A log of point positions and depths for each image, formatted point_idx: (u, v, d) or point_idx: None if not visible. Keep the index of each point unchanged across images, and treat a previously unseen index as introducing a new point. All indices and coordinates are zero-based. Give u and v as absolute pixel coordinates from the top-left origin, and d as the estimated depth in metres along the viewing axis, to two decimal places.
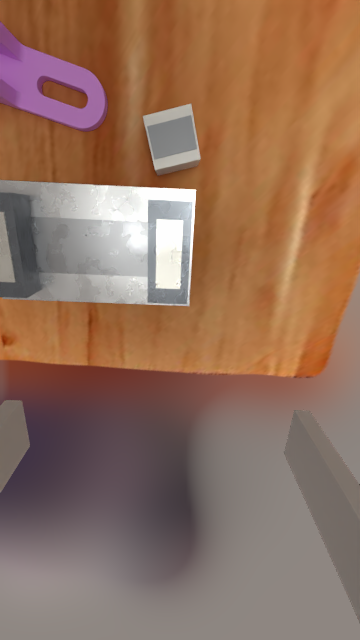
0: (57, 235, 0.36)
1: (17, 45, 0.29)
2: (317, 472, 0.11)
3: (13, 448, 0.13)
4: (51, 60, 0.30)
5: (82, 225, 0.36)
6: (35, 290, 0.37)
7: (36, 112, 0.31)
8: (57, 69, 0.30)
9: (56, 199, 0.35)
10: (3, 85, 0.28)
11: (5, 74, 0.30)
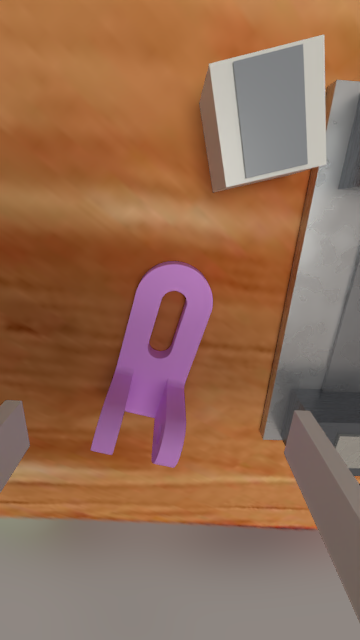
0: (358, 358, 0.22)
1: (119, 376, 0.21)
2: (317, 472, 0.11)
3: (13, 448, 0.13)
4: (129, 336, 0.21)
5: (353, 319, 0.21)
6: None
7: (190, 363, 0.22)
8: (140, 330, 0.21)
9: (304, 352, 0.22)
10: (170, 404, 0.20)
11: (148, 393, 0.23)
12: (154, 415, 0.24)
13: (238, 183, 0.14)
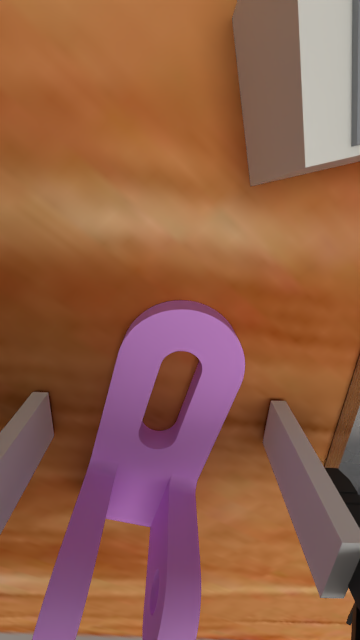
0: None
1: (92, 480, 0.13)
2: (288, 458, 0.12)
3: (41, 437, 0.13)
4: (109, 417, 0.13)
5: None
6: None
7: (206, 455, 0.14)
8: (126, 409, 0.13)
9: None
10: (175, 537, 0.12)
11: (140, 495, 0.15)
12: (149, 523, 0.16)
13: (333, 158, 0.06)
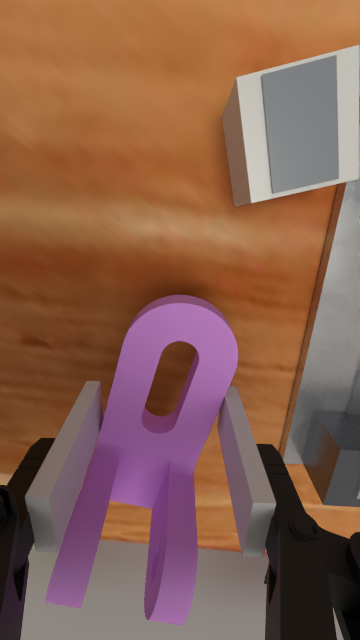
0: None
1: (99, 461, 0.15)
2: (229, 436, 0.13)
3: (96, 422, 0.14)
4: (114, 403, 0.14)
5: None
6: None
7: (203, 440, 0.15)
8: (129, 395, 0.14)
9: (328, 373, 0.21)
10: (174, 511, 0.13)
11: (143, 477, 0.16)
12: (151, 505, 0.17)
13: (264, 199, 0.13)
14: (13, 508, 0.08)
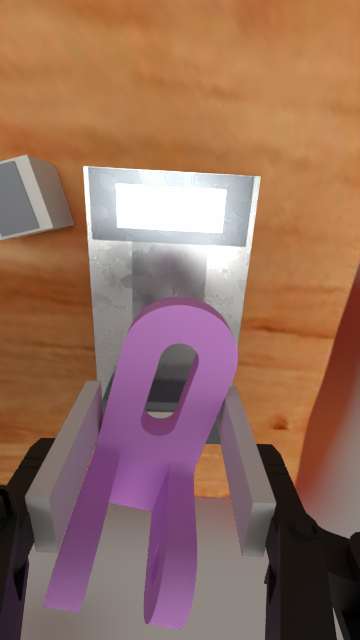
0: None
1: (98, 463, 0.15)
2: (230, 436, 0.13)
3: (96, 422, 0.14)
4: (114, 405, 0.14)
5: None
6: None
7: (203, 442, 0.15)
8: (129, 397, 0.14)
9: (112, 350, 0.30)
10: (174, 515, 0.13)
11: (142, 480, 0.16)
12: (151, 508, 0.17)
13: None
14: (13, 508, 0.08)
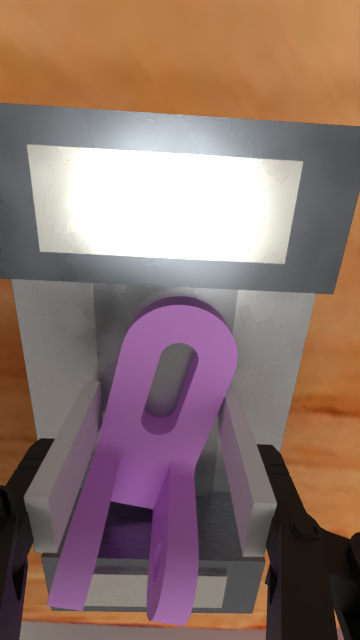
0: None
1: (99, 463, 0.15)
2: (230, 436, 0.13)
3: (96, 422, 0.14)
4: (114, 405, 0.14)
5: None
6: None
7: (203, 441, 0.15)
8: (129, 397, 0.14)
9: None
10: (175, 513, 0.13)
11: (143, 478, 0.16)
12: (152, 506, 0.17)
13: None
14: (12, 508, 0.08)
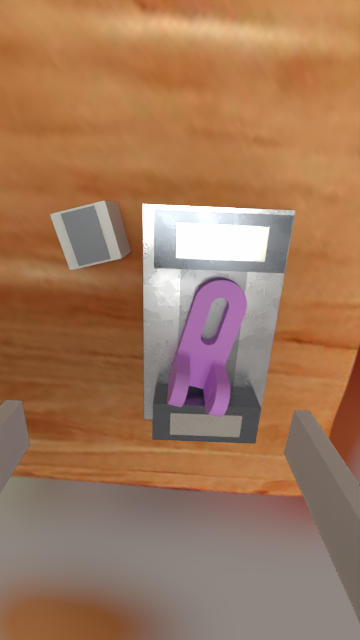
0: None
1: (181, 357, 0.31)
2: (317, 472, 0.11)
3: (13, 448, 0.13)
4: (188, 329, 0.30)
5: None
6: (253, 395, 0.33)
7: (230, 348, 0.31)
8: (196, 325, 0.30)
9: (159, 359, 0.34)
10: (218, 375, 0.29)
11: (199, 370, 0.32)
12: (202, 387, 0.33)
13: (76, 268, 0.26)
14: None
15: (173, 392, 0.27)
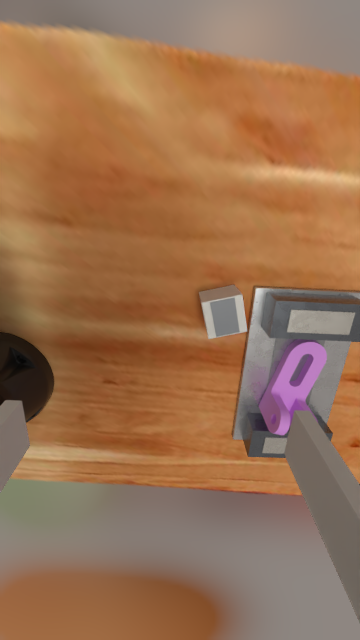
0: None
1: (274, 396, 0.41)
2: (317, 472, 0.11)
3: (13, 448, 0.13)
4: (281, 375, 0.41)
5: None
6: (322, 422, 0.44)
7: (310, 389, 0.42)
8: (287, 372, 0.41)
9: (251, 395, 0.44)
10: (305, 410, 0.40)
11: (285, 404, 0.43)
12: None
13: (213, 337, 0.36)
14: None
15: (280, 425, 0.37)
